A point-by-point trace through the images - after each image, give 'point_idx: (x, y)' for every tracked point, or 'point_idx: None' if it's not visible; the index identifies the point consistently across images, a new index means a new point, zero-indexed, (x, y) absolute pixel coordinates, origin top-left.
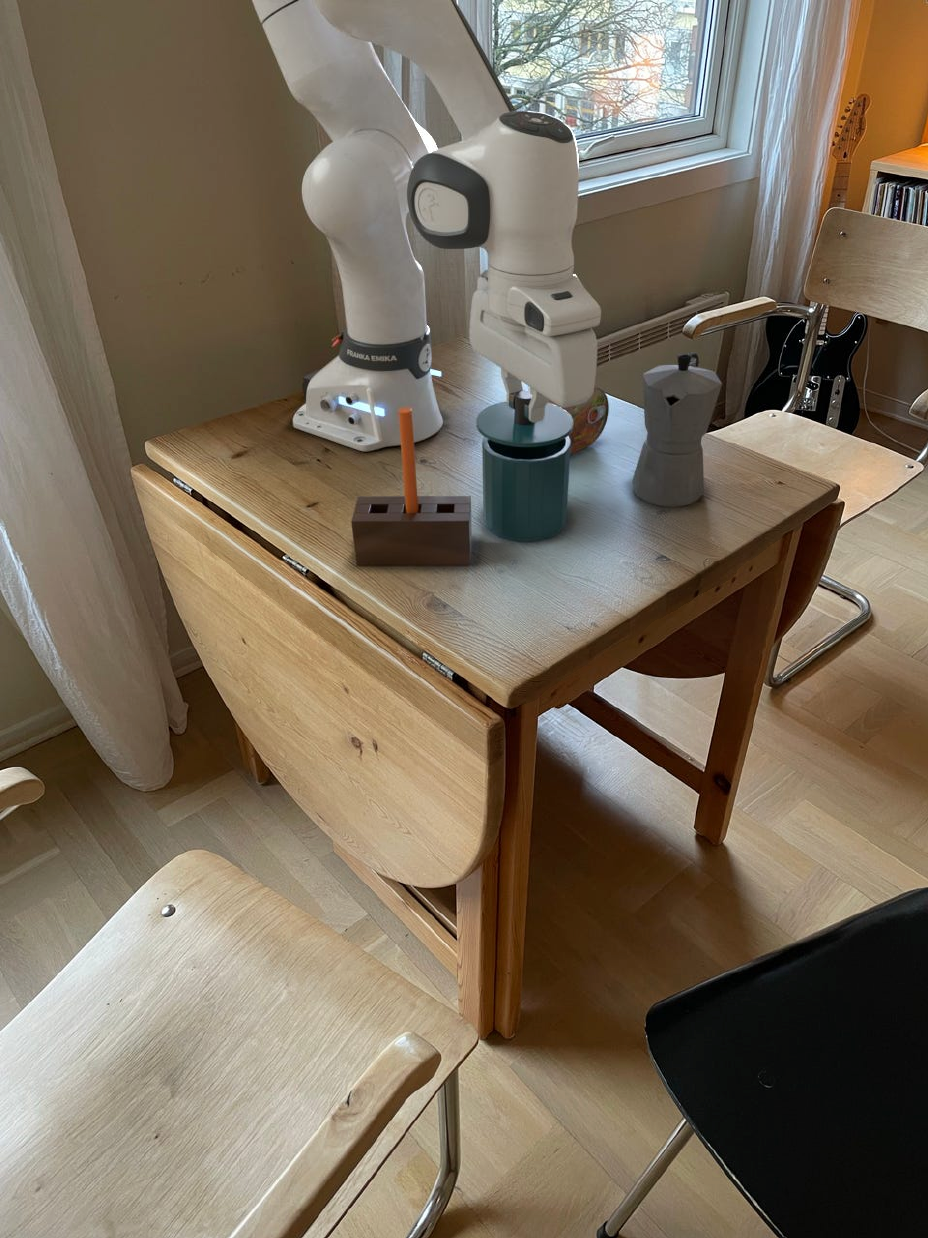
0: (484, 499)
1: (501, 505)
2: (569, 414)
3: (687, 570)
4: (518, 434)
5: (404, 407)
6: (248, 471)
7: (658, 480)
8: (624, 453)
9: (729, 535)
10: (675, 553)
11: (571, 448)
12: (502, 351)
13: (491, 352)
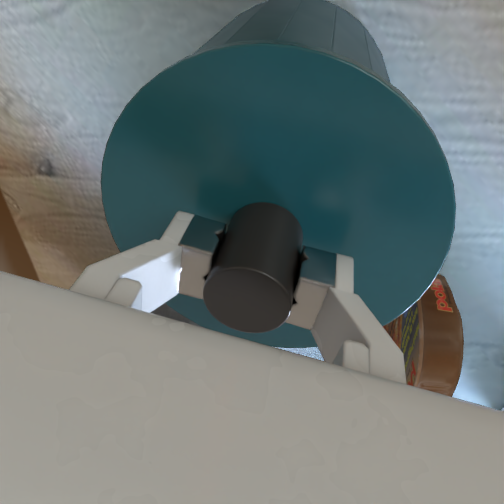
0: (347, 24)
1: (261, 11)
2: (207, 327)
3: (2, 167)
4: (196, 141)
5: None
6: None
7: (162, 308)
8: (315, 358)
9: (56, 270)
10: (50, 192)
11: (387, 330)
12: (347, 474)
13: (487, 458)
